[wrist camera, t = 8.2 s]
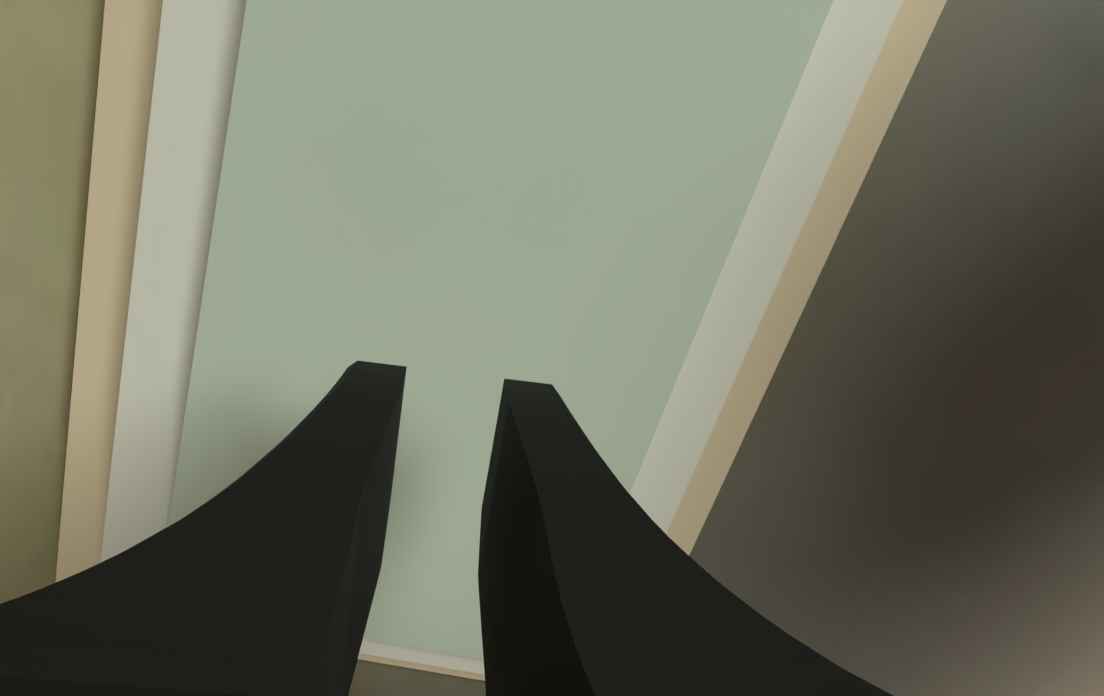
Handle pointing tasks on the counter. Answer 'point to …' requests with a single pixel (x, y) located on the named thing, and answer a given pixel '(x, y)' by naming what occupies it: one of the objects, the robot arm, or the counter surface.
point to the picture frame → (456, 248)
